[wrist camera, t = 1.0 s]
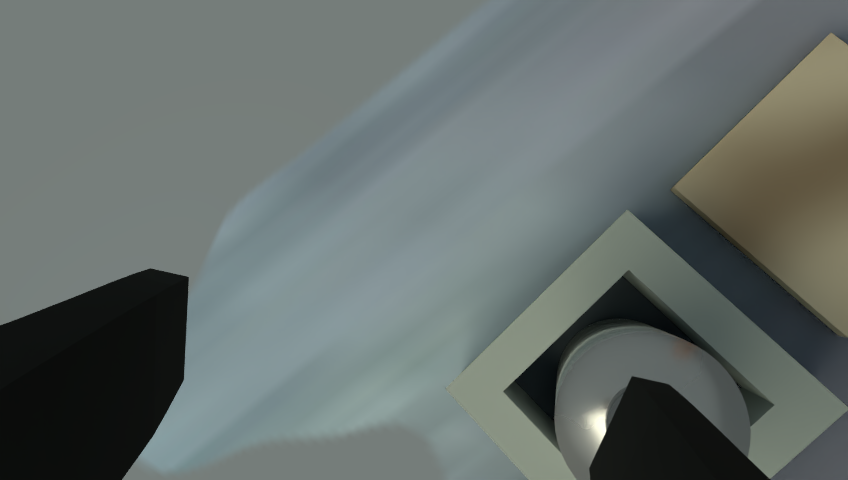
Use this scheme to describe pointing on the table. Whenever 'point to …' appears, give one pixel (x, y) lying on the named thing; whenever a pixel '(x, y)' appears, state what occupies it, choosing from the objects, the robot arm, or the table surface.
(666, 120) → the table surface
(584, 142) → the table surface
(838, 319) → the coaster
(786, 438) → the housing
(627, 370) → the grey cylinder
